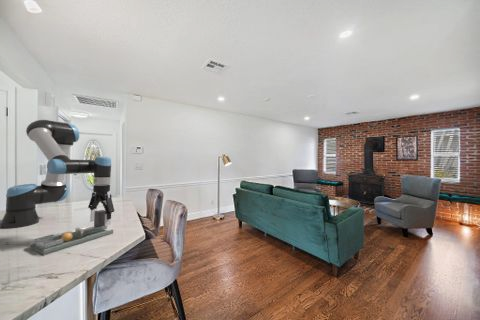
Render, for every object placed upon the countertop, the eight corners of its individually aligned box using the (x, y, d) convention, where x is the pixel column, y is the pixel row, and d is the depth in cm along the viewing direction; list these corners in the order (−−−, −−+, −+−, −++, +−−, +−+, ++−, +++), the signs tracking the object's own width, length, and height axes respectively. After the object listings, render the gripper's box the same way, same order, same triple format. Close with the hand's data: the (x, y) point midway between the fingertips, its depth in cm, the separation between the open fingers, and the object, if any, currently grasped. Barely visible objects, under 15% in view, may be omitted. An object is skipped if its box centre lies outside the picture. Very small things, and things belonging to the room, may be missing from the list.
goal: (34, 247, 84) (34, 238, 84) (52, 242, 89) (52, 234, 90) (44, 253, 80) (45, 243, 80) (62, 247, 85) (63, 238, 85)
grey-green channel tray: (29, 247, 84) (29, 243, 84) (98, 228, 109) (98, 225, 109) (43, 255, 78) (44, 250, 78) (113, 233, 103) (113, 229, 103)
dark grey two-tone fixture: (75, 236, 96) (76, 214, 96) (103, 228, 107) (103, 209, 108) (80, 238, 93) (81, 216, 94) (108, 229, 105) (109, 210, 105)
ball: (59, 241, 90) (59, 233, 90) (69, 238, 93) (70, 230, 93) (63, 243, 88) (64, 235, 88) (74, 240, 92) (74, 232, 92)
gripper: (81, 183, 106) (80, 221, 106) (108, 187, 95) (106, 229, 95) (96, 182, 113) (94, 217, 112) (122, 185, 102) (121, 224, 102)
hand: (100, 223), depth 104 cm, fingers open, 13 cm apart
